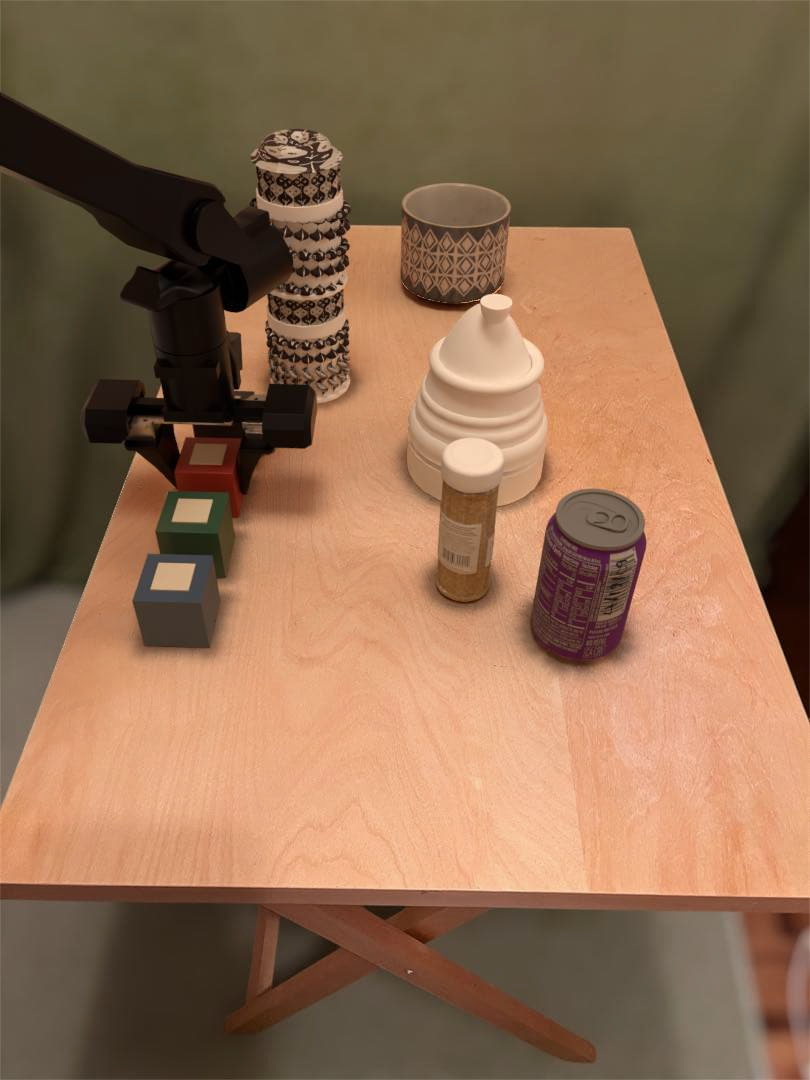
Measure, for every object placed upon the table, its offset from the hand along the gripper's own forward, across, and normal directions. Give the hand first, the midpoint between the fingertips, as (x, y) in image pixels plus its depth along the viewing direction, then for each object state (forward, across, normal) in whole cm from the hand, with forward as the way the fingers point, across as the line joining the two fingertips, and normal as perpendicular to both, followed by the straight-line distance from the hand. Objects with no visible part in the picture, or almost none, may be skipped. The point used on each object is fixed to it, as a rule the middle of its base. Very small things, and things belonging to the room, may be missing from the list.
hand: (214, 491), depth 82 cm
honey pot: (+1, -24, -6) cm, 24 cm away
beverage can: (+1, -31, +15) cm, 34 cm away
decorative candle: (+1, -7, -19) cm, 21 cm away
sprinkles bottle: (+1, -22, +10) cm, 24 cm away
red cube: (+1, 0, 0) cm, 1 cm away
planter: (+1, -22, -42) cm, 47 cm away
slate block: (+1, 0, +15) cm, 15 cm away
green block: (+1, 0, +8) cm, 8 cm away
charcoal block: (+1, 0, -8) cm, 8 cm away
